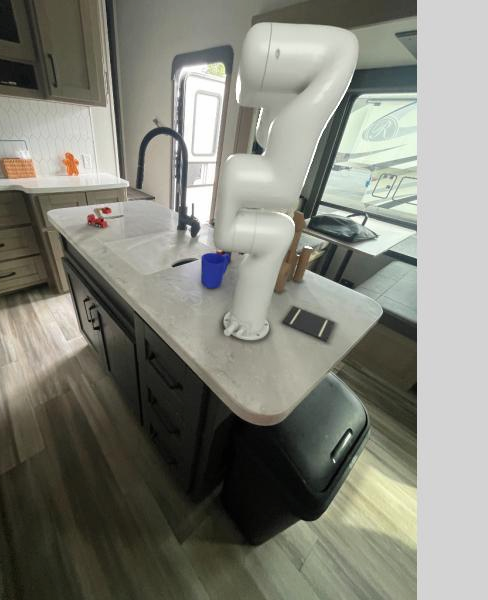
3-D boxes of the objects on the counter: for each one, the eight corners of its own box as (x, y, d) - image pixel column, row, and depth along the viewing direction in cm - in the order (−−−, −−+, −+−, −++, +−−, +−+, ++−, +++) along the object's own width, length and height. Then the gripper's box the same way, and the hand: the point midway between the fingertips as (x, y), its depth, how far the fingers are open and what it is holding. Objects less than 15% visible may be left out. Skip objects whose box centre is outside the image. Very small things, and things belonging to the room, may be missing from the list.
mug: (234, 281, 95) (238, 255, 89) (212, 293, 87) (216, 266, 82) (216, 272, 99) (219, 247, 94) (194, 283, 92) (196, 257, 86)
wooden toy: (278, 293, 90) (300, 220, 76) (262, 284, 94) (280, 213, 80) (303, 280, 98) (327, 212, 84) (287, 273, 102) (308, 206, 88)
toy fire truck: (91, 222, 134) (88, 202, 129) (113, 227, 130) (111, 207, 124) (86, 223, 132) (83, 203, 126) (108, 229, 127) (106, 209, 122)
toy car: (223, 257, 111) (225, 244, 107) (231, 260, 109) (233, 247, 106) (213, 263, 105) (214, 250, 102) (221, 266, 103) (223, 253, 100)
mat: (325, 341, 72) (326, 340, 71) (282, 323, 77) (283, 321, 77) (333, 323, 79) (334, 322, 78) (293, 307, 84) (294, 306, 84)
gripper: (226, 200, 90) (220, 250, 101) (268, 210, 84) (256, 263, 94) (237, 196, 96) (229, 244, 106) (276, 206, 89) (264, 256, 99)
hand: (242, 253), depth 100 cm, fingers closed
